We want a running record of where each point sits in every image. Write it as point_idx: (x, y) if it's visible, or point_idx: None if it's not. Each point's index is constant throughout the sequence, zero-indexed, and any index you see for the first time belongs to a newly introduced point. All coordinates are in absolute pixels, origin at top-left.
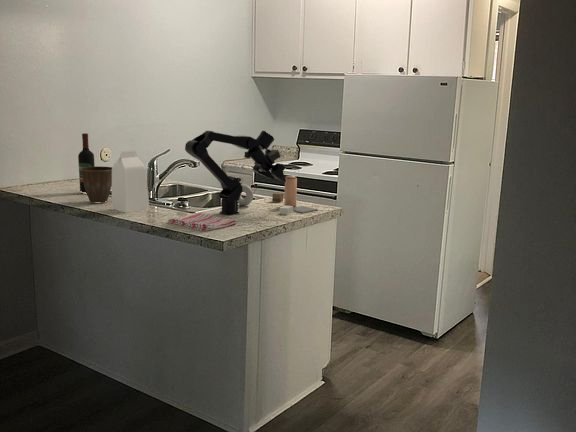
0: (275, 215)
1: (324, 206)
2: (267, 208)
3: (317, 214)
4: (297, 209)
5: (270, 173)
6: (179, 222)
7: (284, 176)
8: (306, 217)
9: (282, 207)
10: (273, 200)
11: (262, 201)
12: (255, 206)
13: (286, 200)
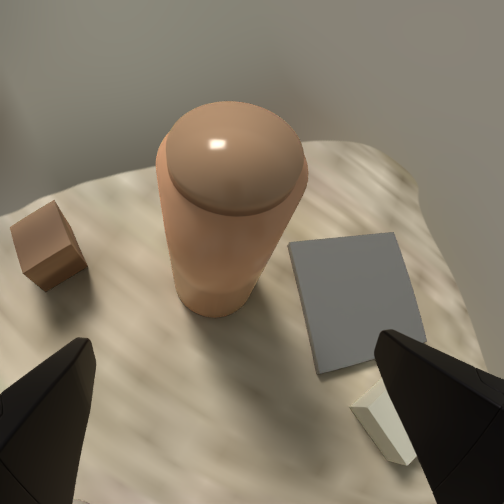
0: (406, 490)
1: (314, 152)
2: (217, 460)
3: (454, 290)
4: (369, 330)
5: (50, 411)
6: None
7: (455, 359)
8: (482, 367)
9: (411, 447)
10: (48, 285)
11: (11, 338)
12: (120, 484)
13: (225, 306)
